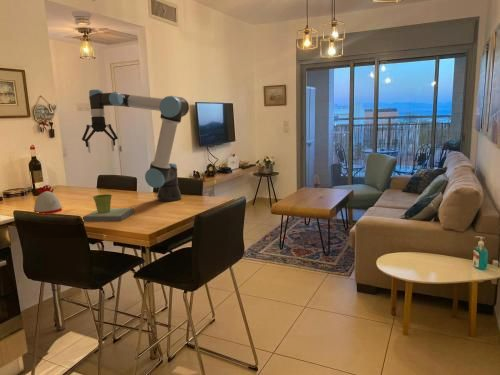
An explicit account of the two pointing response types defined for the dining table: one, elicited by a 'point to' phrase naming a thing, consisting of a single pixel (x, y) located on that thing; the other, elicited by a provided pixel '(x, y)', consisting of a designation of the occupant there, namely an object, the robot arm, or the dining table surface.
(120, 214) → the stand
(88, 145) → the robot arm
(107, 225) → the dining table surface
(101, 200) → the plant pot
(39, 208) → the grey dome
